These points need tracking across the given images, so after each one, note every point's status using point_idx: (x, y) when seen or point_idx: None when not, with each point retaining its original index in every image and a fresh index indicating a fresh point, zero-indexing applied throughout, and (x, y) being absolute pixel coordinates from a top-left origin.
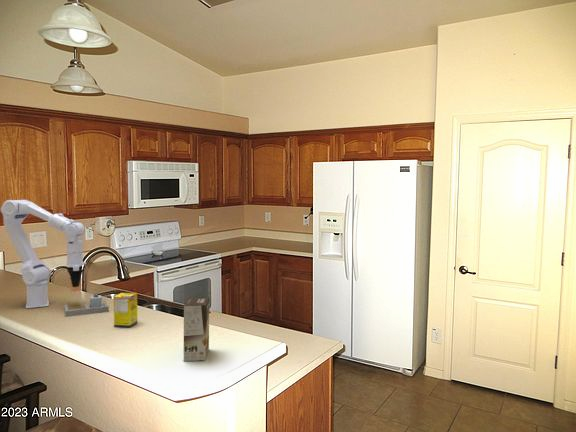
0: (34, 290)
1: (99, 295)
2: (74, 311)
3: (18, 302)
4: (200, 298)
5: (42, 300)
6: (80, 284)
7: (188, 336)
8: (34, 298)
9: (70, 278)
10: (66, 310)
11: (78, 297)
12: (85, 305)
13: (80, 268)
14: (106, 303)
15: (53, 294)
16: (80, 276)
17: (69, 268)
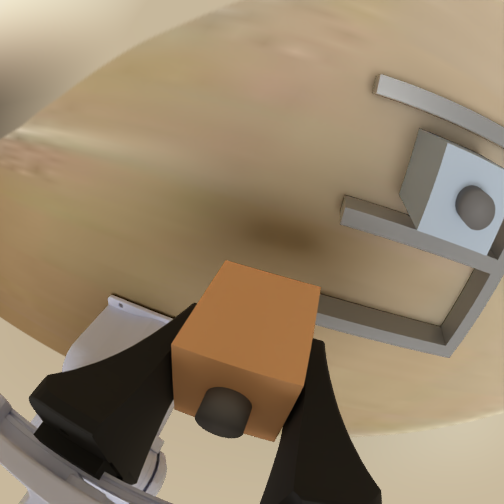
0: (166, 421)
1: (449, 156)
2: (470, 322)
3: None
4: None
5: None
6: (311, 334)
7: None
8: None
9: (244, 432)
10: (441, 351)
11: (89, 166)
12: (433, 250)
13: (111, 428)
14: (486, 121)
15: (26, 240)
16: (346, 433)
17: (127, 479)
